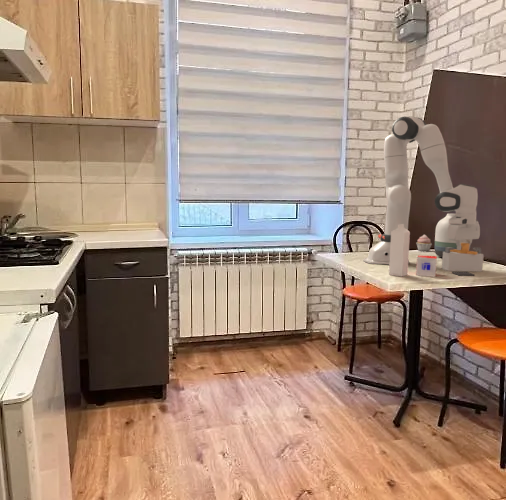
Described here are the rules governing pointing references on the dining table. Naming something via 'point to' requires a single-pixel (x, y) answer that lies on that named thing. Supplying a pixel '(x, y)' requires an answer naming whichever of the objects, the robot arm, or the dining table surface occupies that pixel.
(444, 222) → the vase
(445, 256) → the white rectangular block
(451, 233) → the robot arm
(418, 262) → the white printed cube
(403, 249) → the milk
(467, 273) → the mat
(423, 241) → the cupcake
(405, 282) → the dining table surface
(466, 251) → the cap
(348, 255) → the dining table surface
